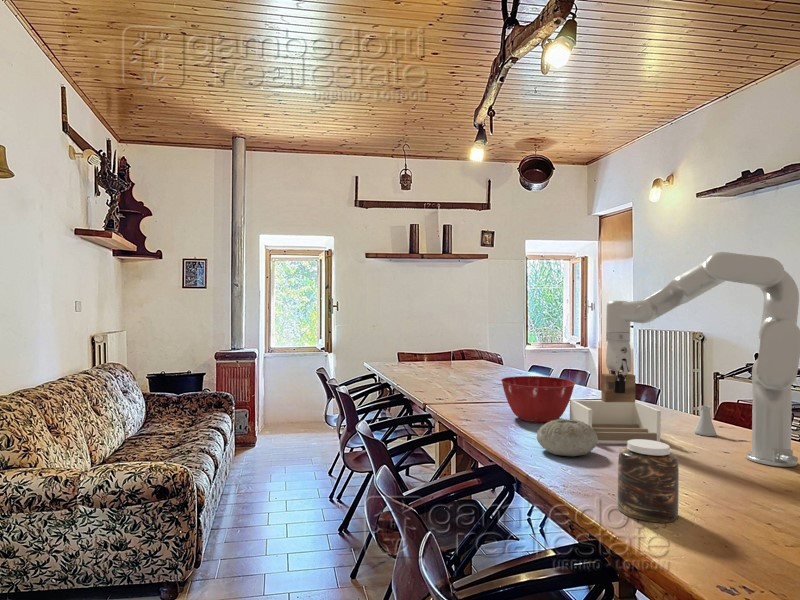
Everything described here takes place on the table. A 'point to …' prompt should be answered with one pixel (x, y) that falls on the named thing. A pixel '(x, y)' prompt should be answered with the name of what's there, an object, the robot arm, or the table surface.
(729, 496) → the table surface
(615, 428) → the open white box
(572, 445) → the decorative shell
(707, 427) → the flask
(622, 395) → the cardboard box
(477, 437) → the table surface
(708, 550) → the table surface
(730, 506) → the table surface
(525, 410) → the mixing bowl
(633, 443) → the jar
